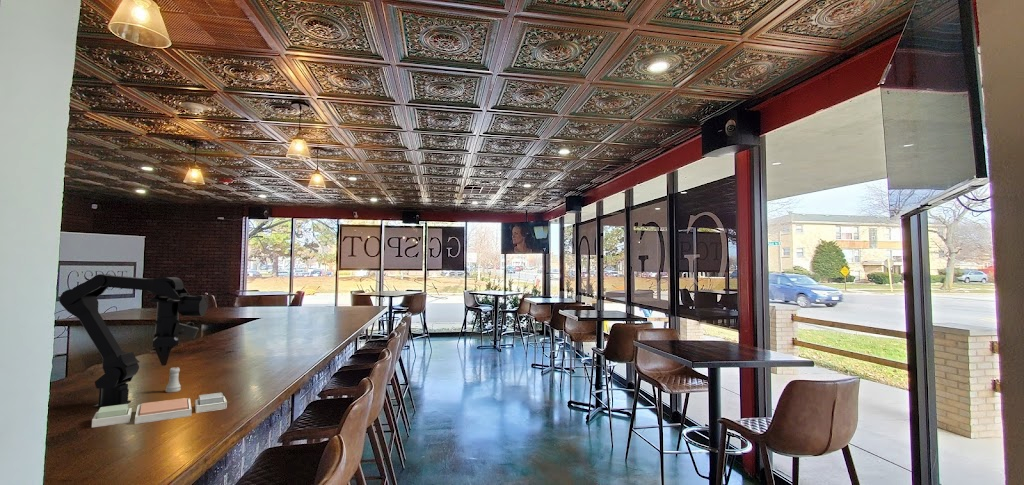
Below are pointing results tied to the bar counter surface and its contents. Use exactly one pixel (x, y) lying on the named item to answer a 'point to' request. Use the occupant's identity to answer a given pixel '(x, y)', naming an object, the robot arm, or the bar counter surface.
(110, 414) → the sage button
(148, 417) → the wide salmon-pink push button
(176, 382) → the rook chess piece
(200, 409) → the grey collar
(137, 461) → the bar counter surface
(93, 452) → the bar counter surface
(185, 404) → the terracotta button
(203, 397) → the grey button
